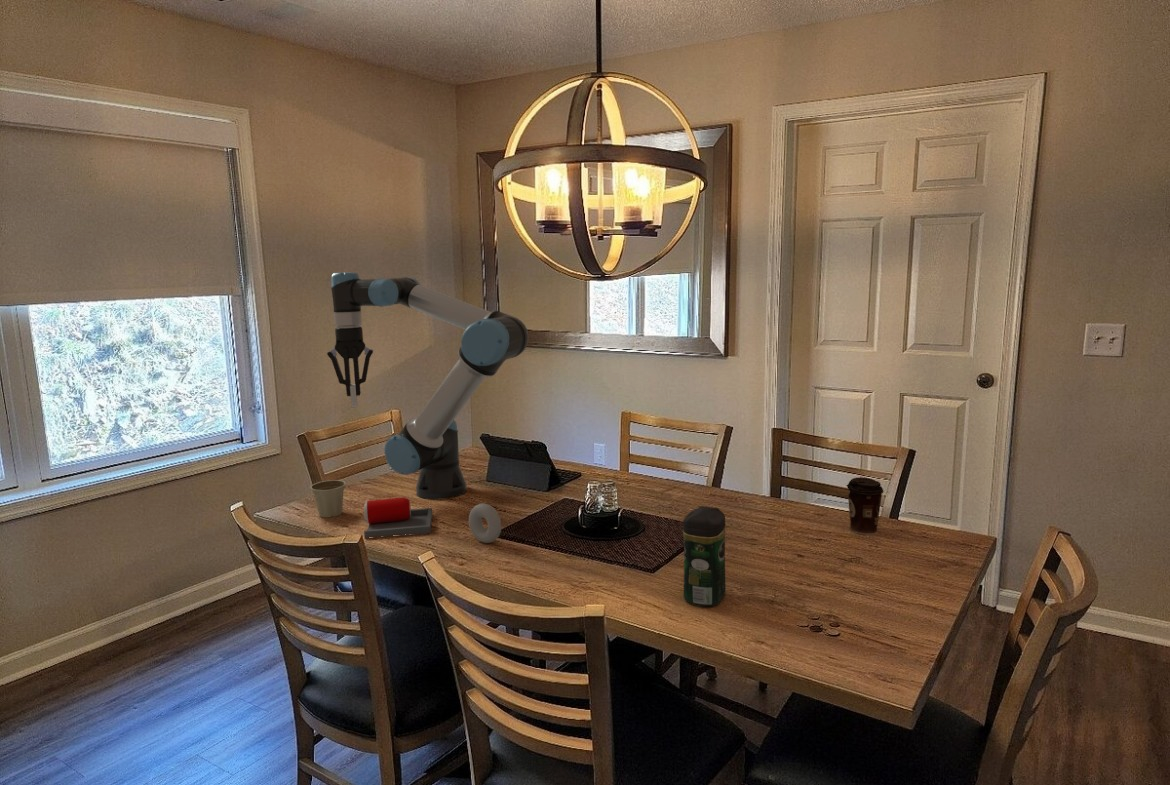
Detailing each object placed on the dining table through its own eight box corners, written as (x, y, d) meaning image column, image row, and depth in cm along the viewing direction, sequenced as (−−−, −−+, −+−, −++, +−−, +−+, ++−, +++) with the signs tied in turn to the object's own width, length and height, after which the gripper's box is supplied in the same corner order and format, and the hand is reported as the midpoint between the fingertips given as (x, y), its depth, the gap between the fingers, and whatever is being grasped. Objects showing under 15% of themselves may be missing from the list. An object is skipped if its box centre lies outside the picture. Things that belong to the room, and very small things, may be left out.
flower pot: (341, 519, 200) (338, 489, 199) (307, 520, 201) (304, 490, 199) (352, 508, 210) (350, 479, 208) (320, 509, 210) (318, 480, 208)
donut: (505, 544, 180) (503, 505, 178) (495, 548, 177) (493, 509, 175) (476, 536, 186) (474, 498, 184) (466, 540, 183) (464, 502, 181)
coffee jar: (692, 584, 154) (692, 501, 151) (729, 591, 151) (730, 505, 148) (678, 604, 146) (677, 516, 143) (716, 611, 142) (717, 521, 139)
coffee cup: (842, 533, 181) (844, 483, 179) (847, 522, 188) (849, 474, 186) (879, 538, 177) (882, 487, 175) (883, 527, 184) (885, 478, 182)
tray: (432, 514, 203) (432, 507, 202) (430, 533, 188) (429, 526, 188) (371, 519, 200) (371, 512, 200) (364, 538, 186) (364, 531, 185)
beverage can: (364, 496, 197) (409, 492, 199) (366, 516, 199) (410, 512, 202) (363, 508, 191) (410, 503, 194) (365, 528, 193) (411, 523, 196)
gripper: (372, 324, 214) (378, 403, 218) (326, 326, 211) (332, 405, 215) (371, 326, 207) (377, 407, 211) (323, 328, 204) (330, 410, 208)
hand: (354, 406), depth 213 cm, fingers closed
